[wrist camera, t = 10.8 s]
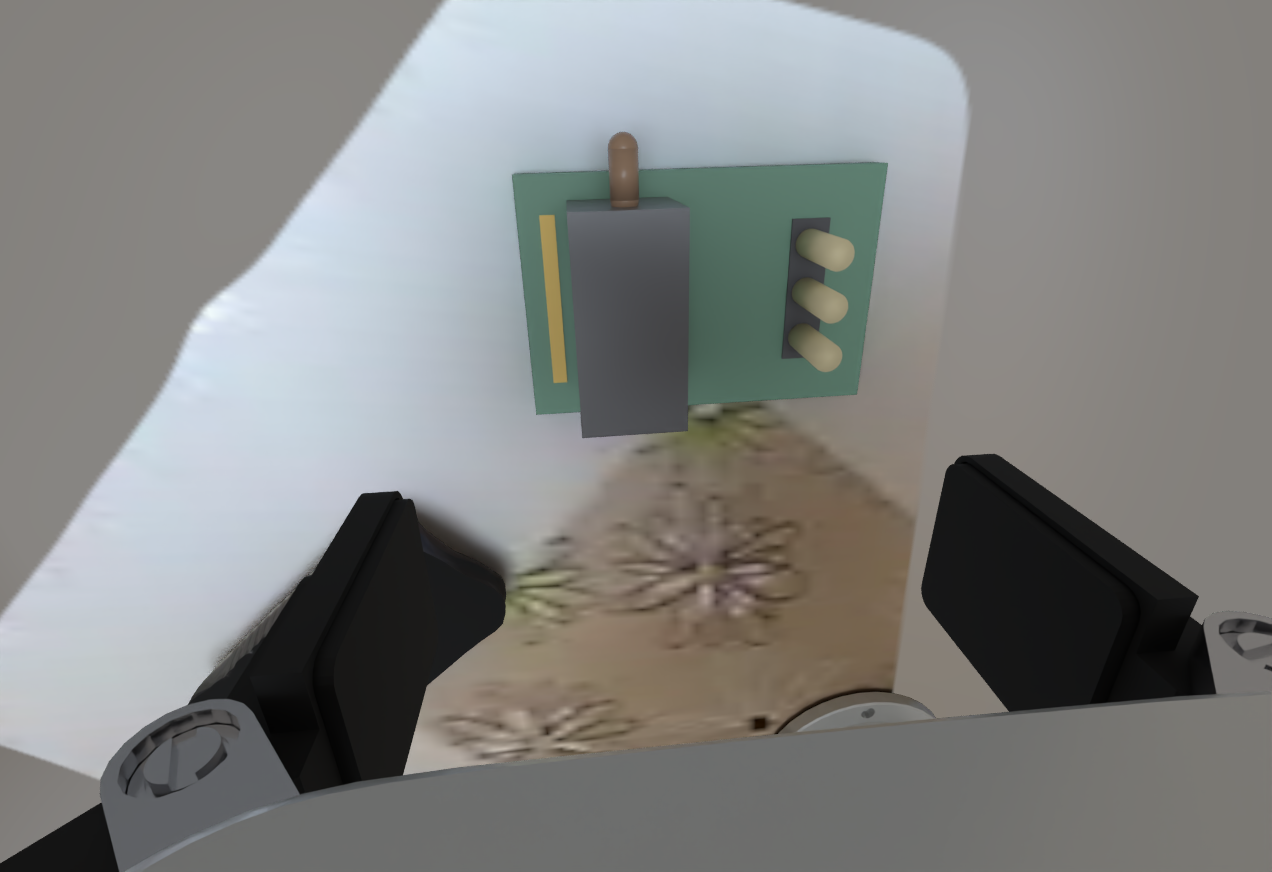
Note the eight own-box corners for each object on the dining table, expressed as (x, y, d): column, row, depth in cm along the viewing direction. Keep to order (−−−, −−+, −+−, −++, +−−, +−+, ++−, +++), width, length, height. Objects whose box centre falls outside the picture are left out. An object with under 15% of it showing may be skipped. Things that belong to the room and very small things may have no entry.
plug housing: (668, 385, 28) (687, 431, 24) (579, 390, 28) (582, 438, 23) (666, 132, 24) (690, 129, 19) (562, 135, 23) (560, 132, 19)
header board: (846, 385, 30) (888, 421, 26) (537, 404, 29) (533, 445, 25) (874, 162, 26) (930, 164, 22) (514, 173, 25) (504, 178, 21)
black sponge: (397, 478, 30) (376, 519, 27) (525, 575, 34) (520, 622, 30) (204, 666, 34) (164, 722, 31) (335, 737, 37) (313, 794, 34)
